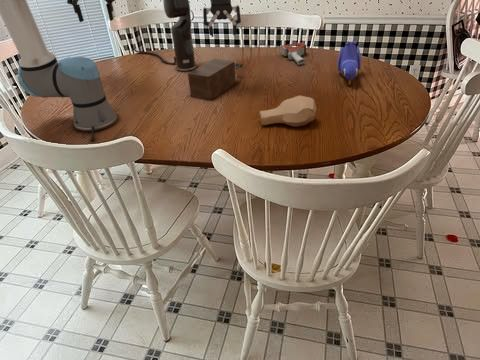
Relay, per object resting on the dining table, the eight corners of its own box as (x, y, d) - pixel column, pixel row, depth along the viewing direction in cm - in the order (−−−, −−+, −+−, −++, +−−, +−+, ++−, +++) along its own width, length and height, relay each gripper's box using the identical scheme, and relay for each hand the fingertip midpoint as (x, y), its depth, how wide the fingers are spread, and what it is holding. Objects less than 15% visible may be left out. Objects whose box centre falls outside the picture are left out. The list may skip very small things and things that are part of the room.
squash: (320, 127, 121) (320, 106, 115) (262, 137, 123) (259, 116, 116) (314, 109, 129) (313, 87, 122) (259, 119, 130) (256, 98, 124)
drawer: (226, 72, 167) (225, 55, 162) (243, 75, 163) (242, 58, 159) (196, 91, 150) (194, 73, 146) (214, 94, 146) (212, 76, 142)
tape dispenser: (301, 69, 172) (317, 54, 185) (301, 58, 169) (318, 44, 181) (269, 62, 180) (286, 49, 192) (269, 52, 176) (287, 39, 189)
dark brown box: (216, 80, 162) (214, 58, 157) (235, 83, 158) (234, 61, 152) (190, 96, 149) (187, 73, 143) (211, 100, 144) (208, 76, 139)
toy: (336, 78, 167) (337, 88, 145) (337, 40, 160) (339, 44, 138) (358, 77, 165) (363, 87, 142) (360, 39, 158) (366, 42, 136)
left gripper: (114, -39, 145) (127, 17, 158) (56, -36, 147) (73, 19, 159) (108, -37, 139) (121, 21, 151) (47, -34, 141) (65, 23, 153)
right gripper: (238, -14, 133) (240, 32, 143) (201, -11, 133) (205, 34, 143) (239, -10, 127) (241, 37, 137) (200, -8, 127) (204, 39, 137)
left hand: (96, 20), depth 155 cm, fingers open, 13 cm apart
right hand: (223, 35), depth 140 cm, fingers open, 8 cm apart
